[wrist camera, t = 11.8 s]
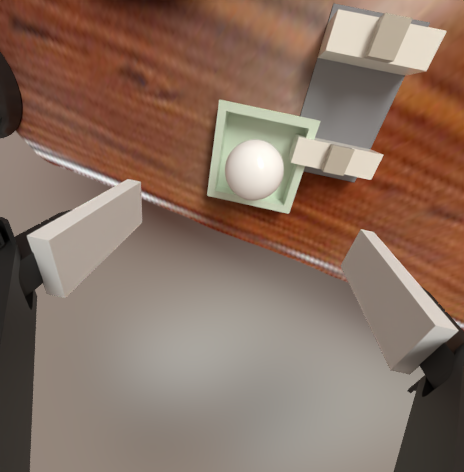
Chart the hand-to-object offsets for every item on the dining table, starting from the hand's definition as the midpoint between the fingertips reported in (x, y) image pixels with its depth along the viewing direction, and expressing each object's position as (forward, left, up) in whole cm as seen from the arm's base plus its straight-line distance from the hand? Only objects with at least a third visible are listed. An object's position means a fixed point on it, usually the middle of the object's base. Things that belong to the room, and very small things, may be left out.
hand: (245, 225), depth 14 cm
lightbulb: (0, 0, -21) cm, 21 cm away
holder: (+9, +8, -21) cm, 24 cm away
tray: (0, 0, -21) cm, 21 cm away
